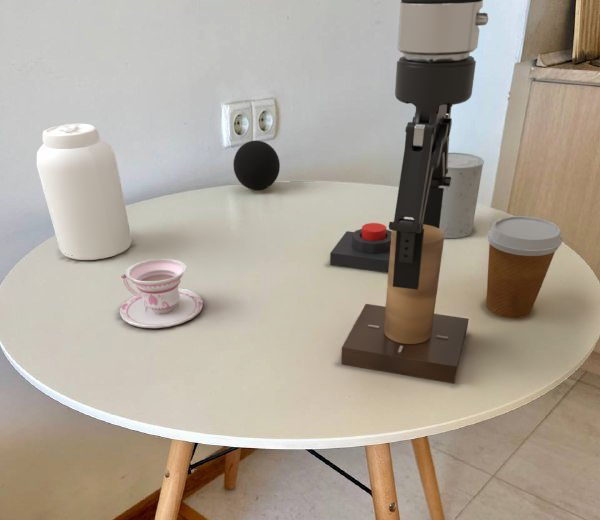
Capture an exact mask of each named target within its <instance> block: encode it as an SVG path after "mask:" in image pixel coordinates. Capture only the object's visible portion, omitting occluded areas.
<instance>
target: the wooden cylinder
mask: <svg viewBox="0 0 600 520" xmlns="http://www.w3.org/2000/svg"><path fill="white" fill-rule="evenodd" d="M423 229H424V237H423V247H422V257H421V267H420V277H419V287H418V289H417V290H416V289H408V288H400V287H393V275H394V261H395V247H396V233H397V231H393V230H391V231H392V232H391V245H390V258H389V271H388V273H387V284H386V285H387V286H386V297H385V307H386V309H385V322H384V333H385V335H386V336H387V337H388V338H389V339H391V340H393V341H395V342H398V343H403V344H417V343H422V342H424V341H426V340H428V339H429V338H430V337H431V333H432V326H433V318H434V314H435V309H436V303H437V295H438V288H439V280H440V274H441V273H440V272H441V265H442V257H443V250H444V245H445V244H444V243H445V238H444V236H445V234H444V232H443V231H442V230H441V229H439V228H437V227H434V226H430V225H424V224H423Z"/></svg>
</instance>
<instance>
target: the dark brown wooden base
mask: <svg viewBox="0 0 600 520" xmlns="http://www.w3.org/2000/svg"><path fill="white" fill-rule="evenodd" d="M385 309H386V305H376V304H370V303H365V304H364V306H363V308H362V309H361V311H360V313H359V315H358V317H357V319H356V320H355V323H354V324H353V326H352V327H351V330H350V332H349V333H348V335H347V337H346V339H345V340H344V342H343V344H342V346H341V356H340V357H341V358H340V359H341V363H340V365H345V366H351V367H357V368H363V369H368V370H373V371H381V372H385V373H391V374H397V375H401V376H402V375H403V376H408V377H413V378H420V379H426V380H430V381H431V380H432V381H436V382H437V381H438V382H443V383H449V384H455V381H456V377H457V374H458V369H459V366H460V361H461V357H462V353H463V348H464V345H465V340H466V336H467V331H468V325H469V319H470V318H467V317H461V316H454V315H453V316H452V315H446V314H439V313H434V318H433V326H432V333H431V337H430V338H429V339H428V340H426V341H424V342H422V343H417V344H403V343H398V342H395V341H393V340H391V339H389V338H388V337H387V336H386V335H385V333H384V322H385Z"/></svg>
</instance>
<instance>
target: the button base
mask: <svg viewBox="0 0 600 520" xmlns="http://www.w3.org/2000/svg"><path fill="white" fill-rule="evenodd" d="M391 232H392V230H389V229H387V228H386V238H385V239H383V240H376V241H373V240H366V239H363V238H362V228H360V229H357V230H355V231H349V230H347V231H345V233H344V234H343V235H342V237H341V238H340V239H339V241H338V242H337V243H336V245H335V246H334V247H333V248H332V249H331V251H330V252H329V265H330V266H334V267H339V268H340V267H341V268H347V269H348V268H349V269H356V270H365V271H372V272H380V273H387V274H388V271H389V258H390V245H391Z"/></svg>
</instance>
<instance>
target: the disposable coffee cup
mask: <svg viewBox="0 0 600 520" xmlns="http://www.w3.org/2000/svg"><path fill="white" fill-rule="evenodd" d="M486 236H487V241H488V244H489V245H488V265H487V278H486V279H487V280H486V281H487V282H486V283H487V285H486V302H485V307H486V309H487V311H488V312H490V313H491V314H492V315H494V316H497V317H499V318H504V319H515V320H516V319H523V318H527V317H528V316H530V315H531V313H532V311H533V309H534V306H535V303H536V301H537V299H538V297H539V293H540V290H541V288H542V287H543V283H544V280H545V279H546V276H547V274H548V270H549V269H550V265H551V263H552V261H553V258H554V255H555V253H556V252H557V250H558V249H559V248H560V246H561V245H562V244H563V238H562V237H561V228H560V227H559V225H558V224H556V223H554V222H552V221H550V220H547V219H544V218H540V217H537V216H536V217H534V216H528V215H511V216H503V217H500V218H497V219H495V220H494V221H493V222H492V225H491V227H490V228H489V229H488V231H487V233H486Z"/></svg>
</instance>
